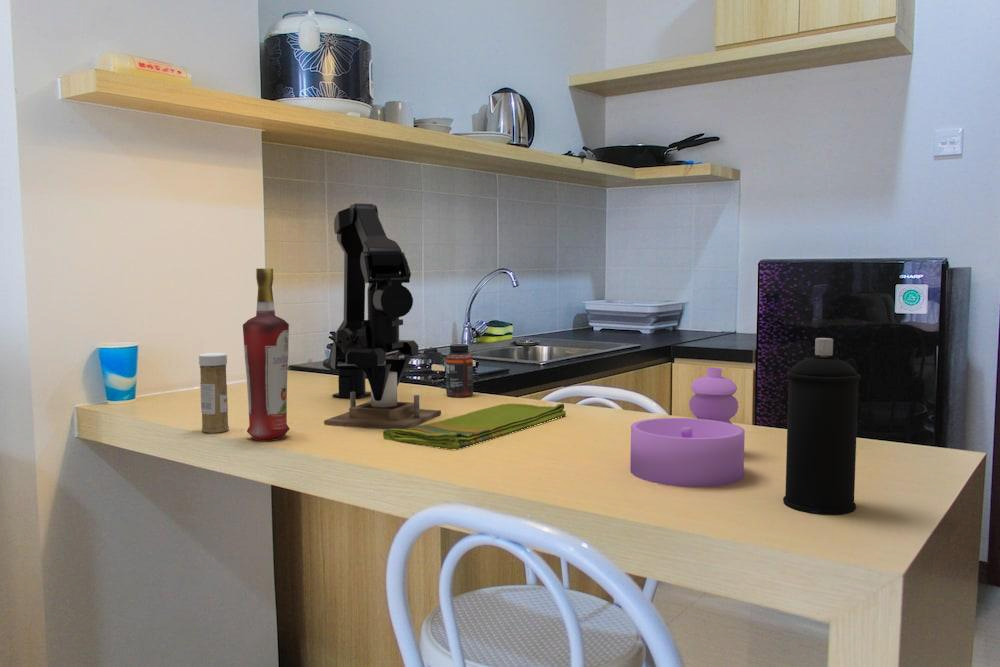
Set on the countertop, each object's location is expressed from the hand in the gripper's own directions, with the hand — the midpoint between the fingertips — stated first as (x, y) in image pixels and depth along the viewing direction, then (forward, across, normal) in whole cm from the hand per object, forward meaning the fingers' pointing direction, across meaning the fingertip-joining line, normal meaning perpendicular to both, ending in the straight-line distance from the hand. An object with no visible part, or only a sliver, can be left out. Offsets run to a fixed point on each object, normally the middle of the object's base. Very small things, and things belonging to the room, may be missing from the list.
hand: (384, 398), depth 156 cm
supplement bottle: (+4, -31, +3) cm, 31 cm away
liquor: (+4, +21, -11) cm, 24 cm away
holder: (+4, 0, 0) cm, 4 cm away
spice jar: (+4, +19, -23) cm, 30 cm away
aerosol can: (+4, +34, +74) cm, 82 cm away
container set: (+4, +18, +58) cm, 61 cm away
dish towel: (+5, +1, +19) cm, 20 cm away
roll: (+1, 0, 0) cm, 1 cm away
